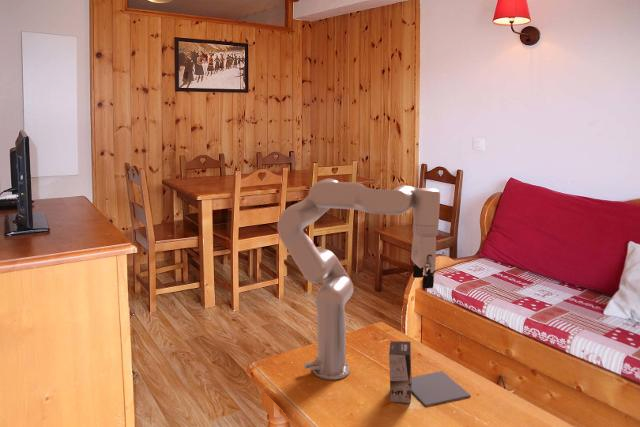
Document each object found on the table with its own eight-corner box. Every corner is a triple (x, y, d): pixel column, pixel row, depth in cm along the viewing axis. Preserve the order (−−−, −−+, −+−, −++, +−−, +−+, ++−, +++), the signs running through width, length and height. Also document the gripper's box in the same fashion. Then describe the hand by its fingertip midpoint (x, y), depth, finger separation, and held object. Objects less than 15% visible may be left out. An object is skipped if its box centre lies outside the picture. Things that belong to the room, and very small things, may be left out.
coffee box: (411, 403, 161) (410, 355, 157) (390, 402, 162) (388, 354, 159) (412, 387, 170) (411, 341, 166) (392, 386, 171) (390, 340, 167)
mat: (425, 406, 160) (425, 404, 160) (400, 380, 175) (400, 379, 175) (470, 396, 165) (470, 395, 165) (442, 372, 180) (442, 371, 180)
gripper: (405, 222, 168) (403, 274, 172) (422, 236, 152) (419, 292, 155) (428, 222, 169) (425, 273, 173) (447, 235, 152) (444, 292, 156)
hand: (422, 282), depth 164 cm, fingers open, 9 cm apart
